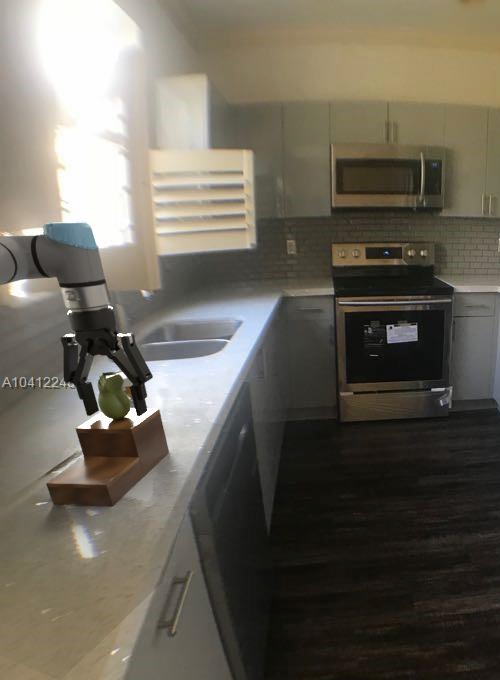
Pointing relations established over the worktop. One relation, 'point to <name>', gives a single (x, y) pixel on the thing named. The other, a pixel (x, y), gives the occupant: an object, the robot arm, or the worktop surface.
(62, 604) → the worktop surface
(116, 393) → the pear
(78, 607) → the worktop surface
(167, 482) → the worktop surface
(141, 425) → the wooden step stand
